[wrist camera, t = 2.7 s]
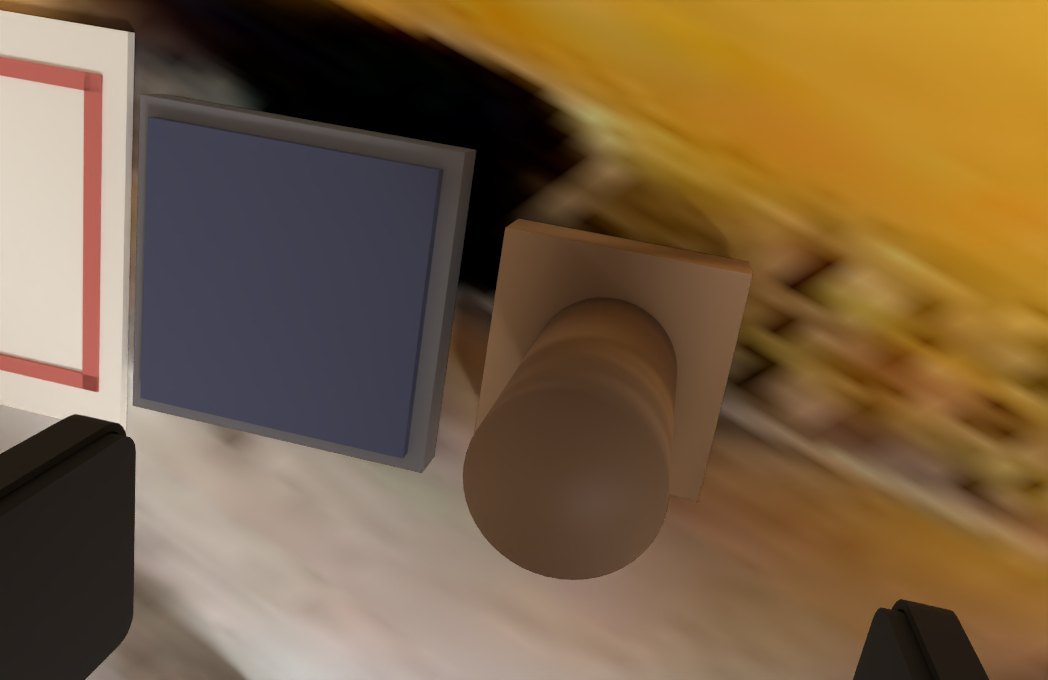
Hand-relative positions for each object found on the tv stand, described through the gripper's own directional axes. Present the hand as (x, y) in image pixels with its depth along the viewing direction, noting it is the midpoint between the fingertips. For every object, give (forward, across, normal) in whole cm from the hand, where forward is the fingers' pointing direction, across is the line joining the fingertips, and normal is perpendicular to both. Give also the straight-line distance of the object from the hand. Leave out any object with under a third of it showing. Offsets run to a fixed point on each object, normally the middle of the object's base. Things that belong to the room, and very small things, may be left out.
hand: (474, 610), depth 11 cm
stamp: (+14, -1, +1) cm, 14 cm away
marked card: (+14, +19, +1) cm, 24 cm away
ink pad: (+14, +8, +1) cm, 16 cm away
